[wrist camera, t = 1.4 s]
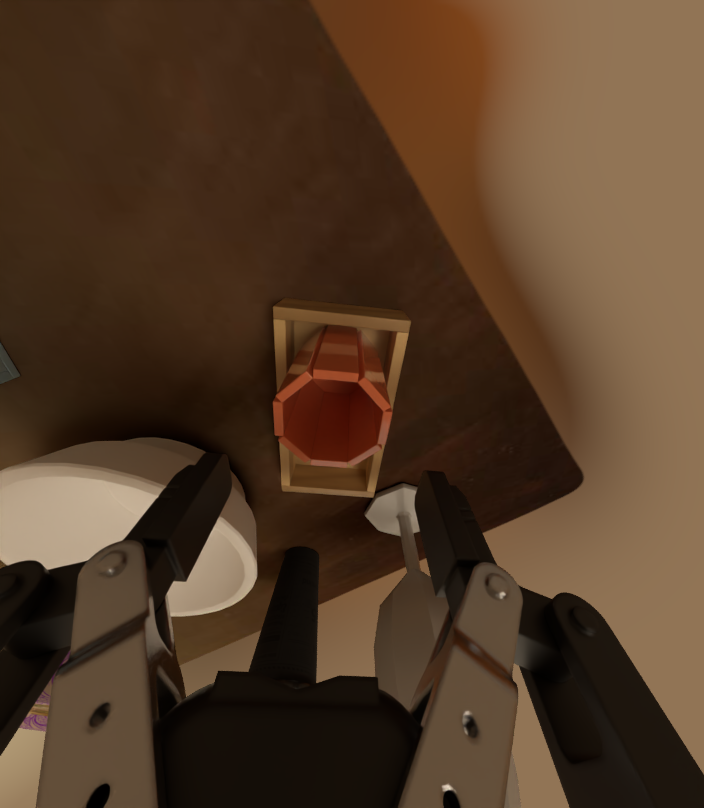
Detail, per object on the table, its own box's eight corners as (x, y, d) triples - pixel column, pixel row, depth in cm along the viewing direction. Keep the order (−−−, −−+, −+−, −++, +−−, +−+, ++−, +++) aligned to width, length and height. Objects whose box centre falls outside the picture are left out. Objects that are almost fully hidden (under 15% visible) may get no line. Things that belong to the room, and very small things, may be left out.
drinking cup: (297, 575, 40) (254, 823, 23) (263, 551, 37) (184, 819, 19) (339, 561, 38) (327, 821, 21) (308, 534, 35) (263, 817, 17)
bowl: (52, 496, 31) (-39, 571, 24) (93, 353, 22) (-34, 405, 15) (229, 561, 38) (200, 634, 31) (316, 474, 29) (304, 549, 22)
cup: (302, 319, 20) (270, 364, 12) (382, 328, 20) (400, 377, 13) (301, 391, 23) (276, 462, 15) (371, 397, 23) (380, 471, 16)
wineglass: (351, 510, 32) (348, 848, 14) (402, 470, 29) (486, 852, 11) (401, 537, 35) (452, 848, 17) (453, 504, 31) (588, 850, 13)
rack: (284, 297, 20) (272, 306, 17) (403, 310, 20) (411, 320, 17) (289, 466, 28) (281, 491, 25) (371, 472, 29) (373, 498, 26)
